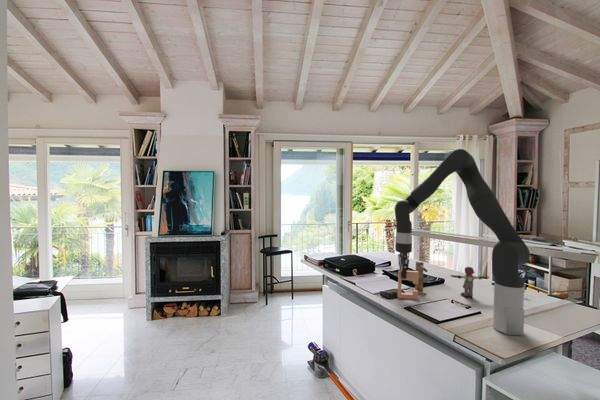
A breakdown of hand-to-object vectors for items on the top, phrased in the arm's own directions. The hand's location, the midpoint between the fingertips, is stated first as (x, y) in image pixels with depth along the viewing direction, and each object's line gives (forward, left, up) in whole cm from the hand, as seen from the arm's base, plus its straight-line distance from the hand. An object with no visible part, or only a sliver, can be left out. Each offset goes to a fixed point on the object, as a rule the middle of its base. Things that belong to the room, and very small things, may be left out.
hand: (402, 277), depth 149 cm
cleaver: (+16, -56, -10) cm, 59 cm away
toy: (+6, -32, -10) cm, 34 cm away
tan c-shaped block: (0, -2, -10) cm, 10 cm away
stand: (+5, -10, -10) cm, 15 cm away
